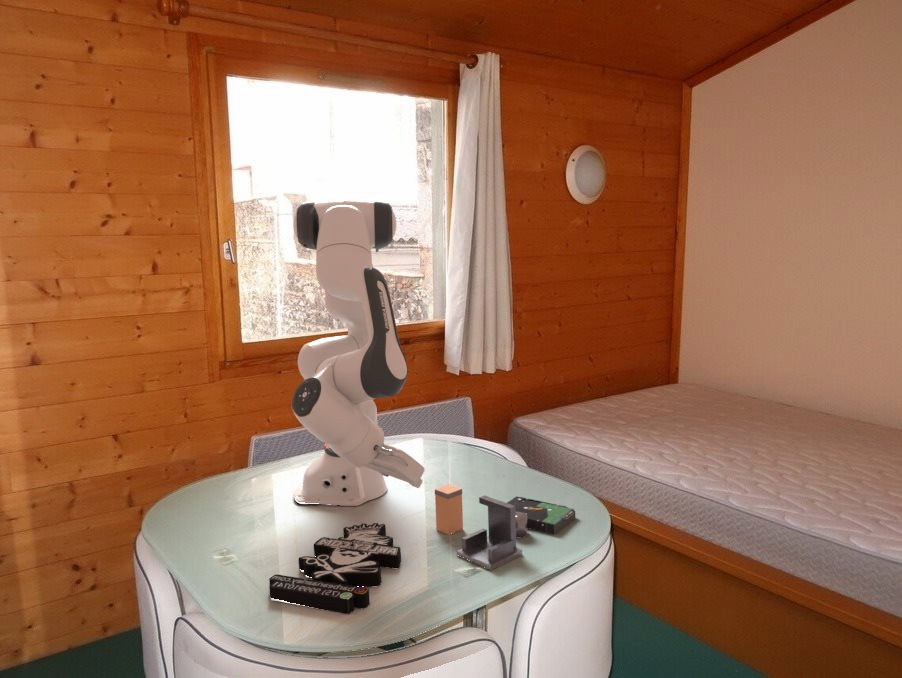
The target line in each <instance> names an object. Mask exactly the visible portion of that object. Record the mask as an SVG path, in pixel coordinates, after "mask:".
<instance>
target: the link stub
mask: <svg viewBox="0 0 902 678" xmlns="http://www.w3.org/2000/svg"><path fill="white" fill-rule="evenodd" d="M526 535H527V536H528V528H527V514H525V513H523V512H516V537H522V538H525V537H527V536H526ZM524 536H525V537H524Z"/></svg>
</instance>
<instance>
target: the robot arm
mask: <svg viewBox="0 0 902 678" xmlns="http://www.w3.org/2000/svg"><path fill="white" fill-rule="evenodd" d="M396 218H397V217H396V214H395V213H394V210H393V207H392V205H391V204H390V203H389V202H388V201H384V200H379V199H374V200H371V199H369V200H368V199H363V198H362V199H361V198H344V199H328V200H319V201H316V200H310V201H304V202H302V203H301V204H300V205H299V206H298V207H297V208H296V213H295V215H294V218H293V231H294V234H295V236H296V239H297V242H298V243H299V244H300V245H301V246H302V247H303V248H304V249H305V248H306V249H309V250H314V251H316V252H315V254H316V255H315V256H316V257H315V271H316V277H317V281H318V283H319V285H320V287H321V288H322V289H323V290H324V296H325V297H324V300H325V301H324V302H325V303H324V304H325V305H324V306H325V309H326V310H327V313H329V315H330V316H331V317H333V318H335V319H337V320H339V321H341V322H343V323H345V324H346V327H347V334H346V335H337V336H329V337H321V338H319V339H316V340H313V341H311V342H308V343H305V344H303V346H302V347H301V349H300V350H299V353H298V356H297V367H298V370H299V374H300V375H301V376H302V378H303V379H304V380H303V381H301V383H300V384H299V385H298V386H297V387H296V388H295V391H294V393H293V395H292V397H291V410H292V411H293V415H294V416H295V417H296V420H298V421H299V423H300V424H301V425H302V426H303V427H304V428H305V429H306V430H307V431H308V432H309V433H310V434H312V436H314V437H315V438H317V440H319V441H320V442H322V443H323V450H324V453H323V454H321V455H319V457H317V458H316V459H315V460H314V461H313V462H311V463H310V464H309V465H308V467H306V470H305V472H304V474H303V479H302V483H301V484H303V486H300V485H301V484H299V485H298V486H297V487H296V488H295V490H294V493H293V498H294V497H296V496H298V497H300V498H296V500H297V501H298V502H305V503H319V504H331V505H330V506H337V505H340V507H341V506H346V507H348V506H349V507H351V506H352V507H357V506H360V505H363V504H364V503H366V502H368V501H372V500H374V499H378V498H379V497H381V496H383V495H384V494H386V493H387V491H388V486H387V484H386V481H385V477H387V478H388V477H392V478H395V479H397V480H401V481H402V482H405V483H408V484H409V485H411V486H412V487H413V488H416V489H419V488H421V485H422V484H423V479H422V477H423V475H424V473H425V468H424V466H423V465H422V464H421V463H420V462H418V460H416V459H415V458H413V457H412V456H411V455H410V454H408V453H407V452H406V451H404V450H402V449H400V448H398V447H395V446H393V445H390V444H389V445H388V444H386V443H385V433H384V430H383V429H382V428H381V426H379V424H378V412H377V411H378V410H377V406H376V405H377V404H376V403H375V401H374V400H375V399H376V400H378V399H383V398H384V399H385V398H391V397H395V396H397V395H398V394H399V393H400V392H401V391H402V389H403V387H404V385H405V384H406V381H407V378H408V374H409V367H408V362H407V359H406V356H405V353H404V351H403V348H402V345H401V342H400V337H399V334H398V333H399V332H398V328H397V323H396V318H395V314H394V313H395V312H394V308H393V303H392V299H391V294H390V290H389V286H388V284H387V281H386V278H385V276H384V274H383V273H382V272H381V271H380V270H379V269H377V268H375V267H374V265H373V261H372V260H373V259H372V248H373V249H375V253H378V252H379V250H380V249H384V248H386V247H388V246H389V245H390V244H391V243H392V242H393V240H394V239H393V238H394V237H395V234H396V232H397V231H396V230H397V219H396ZM294 495H295V496H294Z"/></svg>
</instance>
